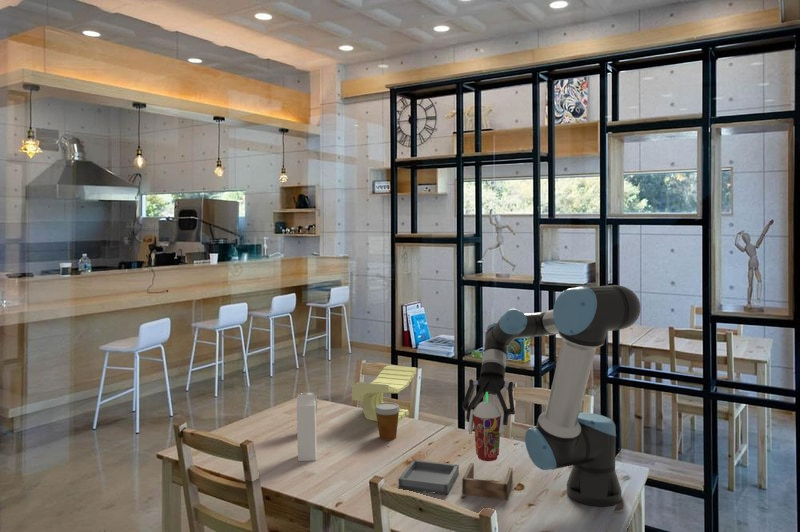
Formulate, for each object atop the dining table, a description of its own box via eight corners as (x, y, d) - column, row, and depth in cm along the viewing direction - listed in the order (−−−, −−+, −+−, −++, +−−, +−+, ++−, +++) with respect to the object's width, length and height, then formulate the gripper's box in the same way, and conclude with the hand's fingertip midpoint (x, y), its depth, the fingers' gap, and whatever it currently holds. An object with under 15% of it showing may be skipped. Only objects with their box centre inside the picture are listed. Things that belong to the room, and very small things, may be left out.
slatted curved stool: (383, 404, 256) (382, 364, 255) (416, 407, 250) (415, 367, 249) (352, 425, 229) (351, 381, 228) (389, 430, 223) (388, 384, 222)
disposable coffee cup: (405, 438, 214) (405, 406, 213) (383, 443, 208) (383, 411, 208) (391, 431, 222) (390, 400, 221) (370, 436, 216) (369, 405, 215)
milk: (315, 460, 194) (314, 396, 192) (297, 461, 193) (296, 397, 192) (316, 453, 200) (315, 391, 198) (299, 454, 199) (297, 392, 198)
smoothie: (501, 464, 167) (500, 396, 166) (472, 462, 169) (471, 395, 168) (502, 453, 175) (501, 388, 174) (474, 452, 177) (473, 388, 176)
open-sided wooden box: (512, 482, 175) (512, 467, 175) (507, 499, 164) (507, 484, 164) (470, 477, 179) (470, 462, 179) (462, 493, 168) (462, 478, 168)
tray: (458, 474, 182) (458, 464, 181) (447, 495, 167) (447, 485, 167) (413, 468, 186) (413, 459, 186) (398, 488, 172) (398, 478, 172)
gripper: (528, 375, 182) (523, 442, 168) (462, 371, 189) (452, 435, 174) (526, 362, 177) (520, 430, 162) (458, 358, 183) (447, 423, 169)
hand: (485, 432), depth 168 cm, fingers closed on smoothie, 8 cm apart
